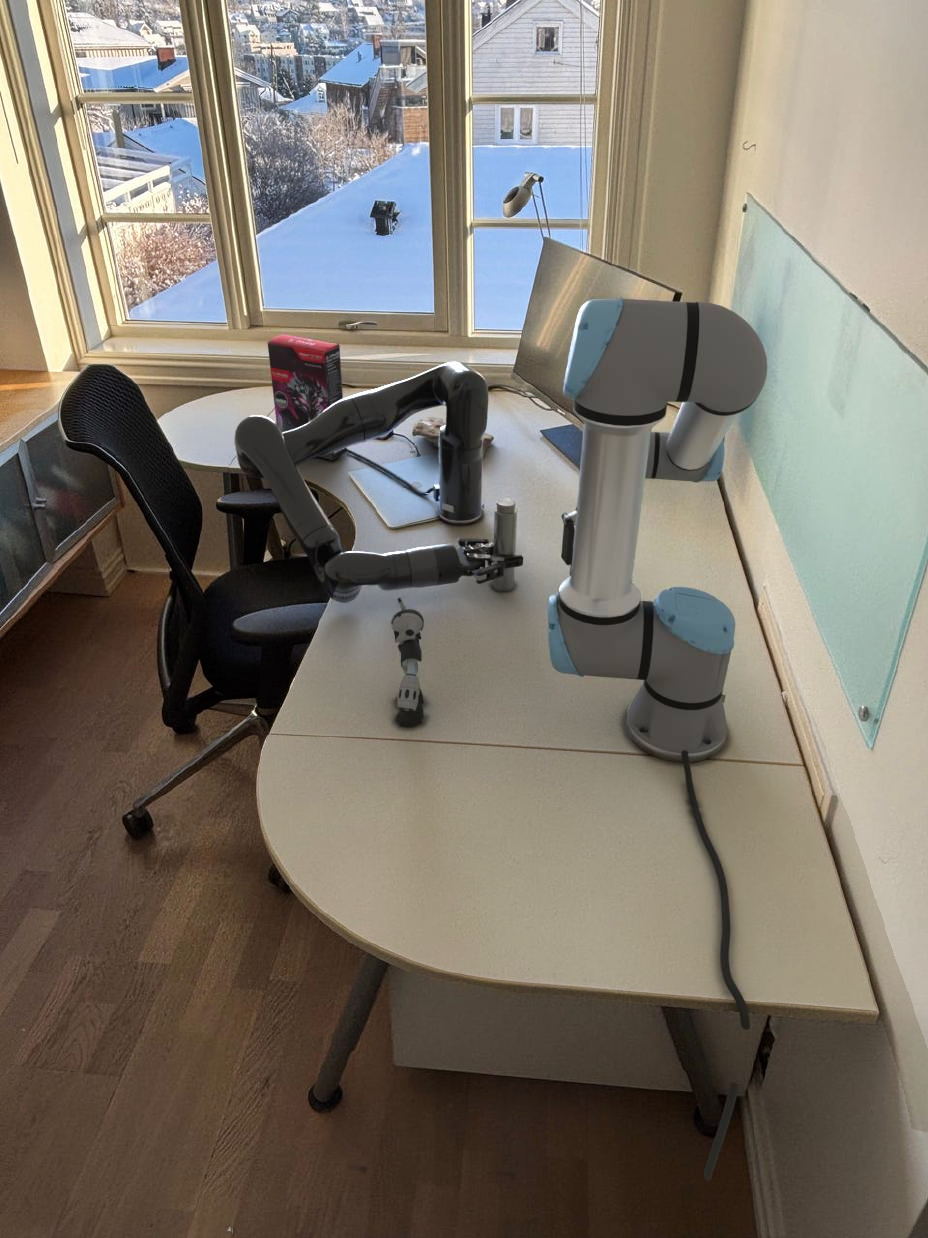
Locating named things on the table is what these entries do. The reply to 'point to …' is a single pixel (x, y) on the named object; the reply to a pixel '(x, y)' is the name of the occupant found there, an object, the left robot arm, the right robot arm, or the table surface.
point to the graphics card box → (304, 380)
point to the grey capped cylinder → (505, 540)
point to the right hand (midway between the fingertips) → (590, 589)
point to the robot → (409, 665)
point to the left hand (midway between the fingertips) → (517, 553)
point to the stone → (431, 431)
